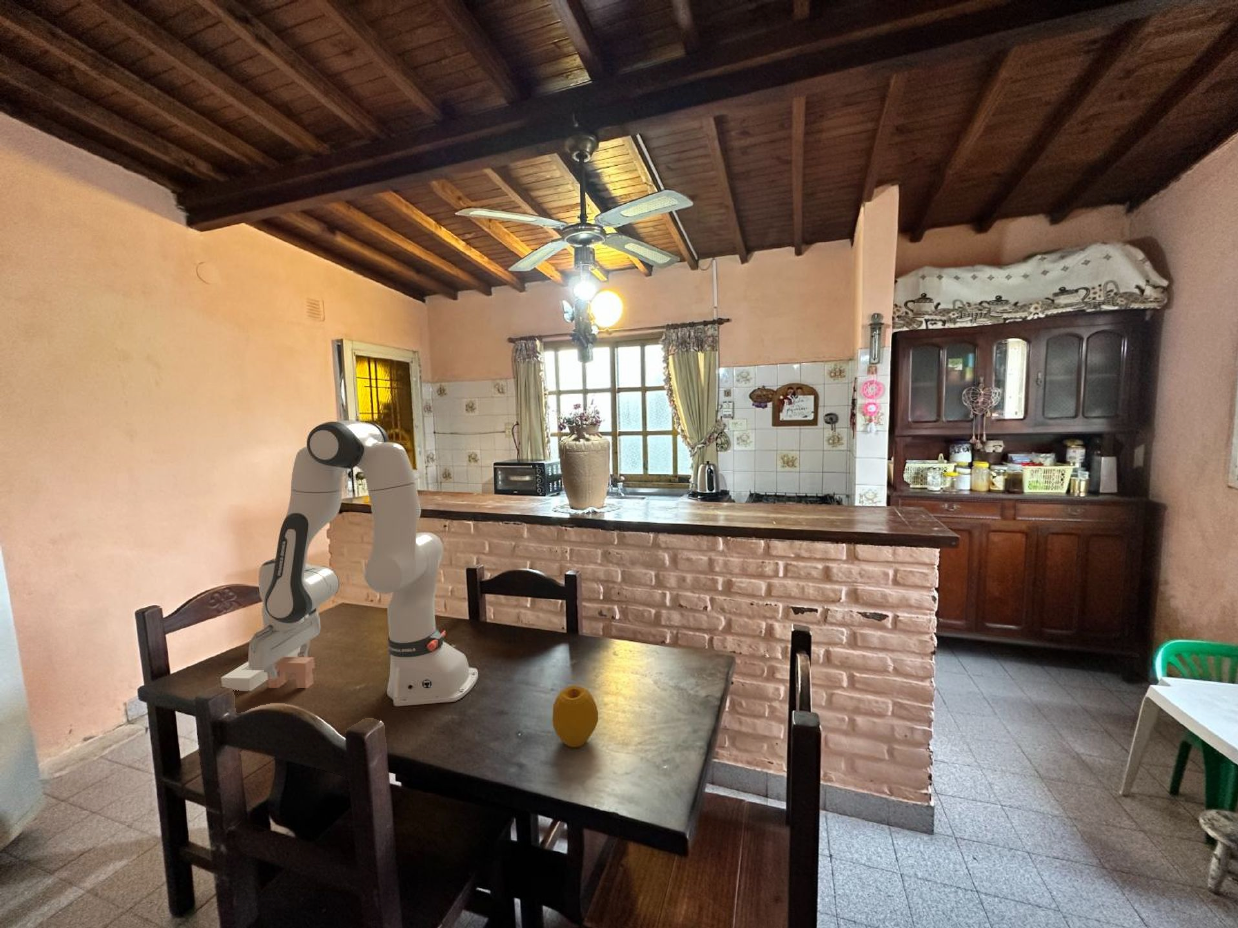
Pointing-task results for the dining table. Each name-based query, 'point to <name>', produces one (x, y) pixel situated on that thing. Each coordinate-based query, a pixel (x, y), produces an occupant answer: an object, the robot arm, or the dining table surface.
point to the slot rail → (248, 676)
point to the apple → (574, 715)
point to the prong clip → (294, 671)
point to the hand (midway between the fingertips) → (289, 667)
